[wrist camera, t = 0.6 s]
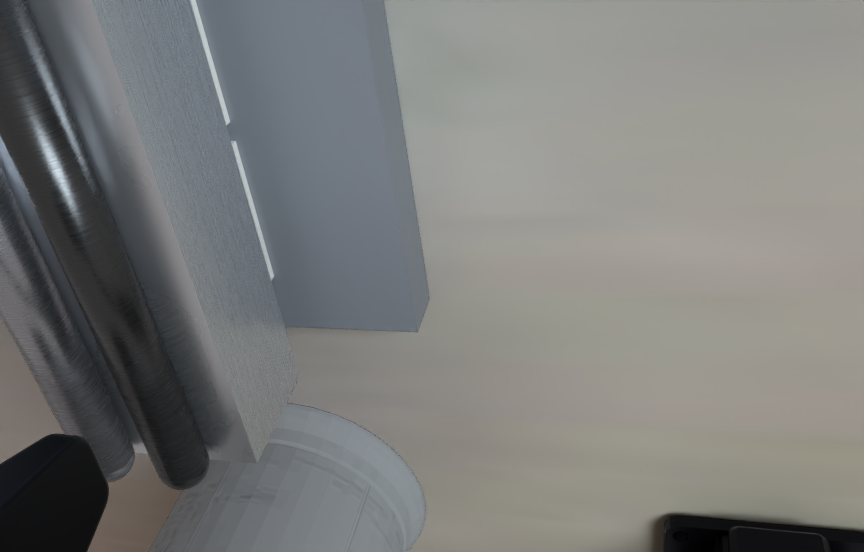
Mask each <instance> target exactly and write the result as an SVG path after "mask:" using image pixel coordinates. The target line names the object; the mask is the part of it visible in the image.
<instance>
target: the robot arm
mask: <svg viewBox="0 0 864 552" xmlns="http://www.w3.org/2000/svg"><path fill="white" fill-rule="evenodd" d="M108 495H109V487H108V482H107V479H106V477H105V475H104V473H103V471H102V468H101V466H100V464H99V462H98V460H97V457H96V455H95V453H94V451H93V448H92V446H91V444H90V443H89V441H88V440H86V439H85V438H84V437H81V436H75V435H66V434H51V435H48V436H46V437H44V438H42V439H40V440H39V441H37V442H35V443H34V444H32V445H30V446H29V447H27V448H25V449H24V450H22V451H21V452H19V453H17V454H16V455H14V456H12V457H11V458H9V459H7V460H6V461H4V462H3V463H1V464H0V552H87V551H88V548H89V546H90V543H91V541H92V539H93V536H94V534H95V531H96V529H97V526H98V524H99V522H100V519H101V517H102V514H103V512H104V509H105V507H106V504H107V500H108ZM663 552H864V533H862V532H851V531H840V530H829V529H818V528H807V527H796V526H785V525H774V524H763V523H752V522H741V521H730V520H719V519H708V518H697V517H686V516H674V517H671V518H669V519H668V520H666V522H665V524H664V539H663Z"/></svg>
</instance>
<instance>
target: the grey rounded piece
mask: <svg viewBox="0 0 864 552" xmlns="http://www.w3.org/2000/svg"><path fill="white" fill-rule="evenodd" d="M209 460H210V465H209V469H208V472H207V475H206V476H205V478H204V479H203V480H202V481H201V482H200V483H199V484H198V485H196V486H194V487H192V488H190V489H185V490H183V491H182V493H181V495H180V497H179V498H178V500H177V502H176V504H175V505H174V507H173V509H172V511H171V512H170V514H169V516H168V518H167V519H166V521H165V523H164V525H163V526H162V528H161V530H160V532H159V534H158V535H157V537H156V539H155V541H154V542H153V544H152V546H151V548H150V549H149V551H148V552H407V551H408V550H409V549H410V547H411V546H412V545H413V544H414V542H415V541H416V540H417V538H418V537H419V535H420V533H421V531H422V528H423V525H424V522H425V514H426V505H425V500H424V496H423V492H422V489H421V487H420V485H419V483H418V481H417V479H416V477H415V475H414V474H413V473H412V471H411V470H410V468H409V467H408V466H407V464H406V463H405V462H404V461H403V460H402V459H401V458H400V457H399V456H398V455H397V454H396V453H395V452H394V451H393V450H392V448H390V447H389V446H388V445H386V444H385V443H384V442H383V441H381V440H380V439H379V438H377V437H376V436H375V435H373V434H372V433H370V432H368V431H366V430H365V429H363V428H361V427H360V426H358V425H356V424H354V423H352V422H350V421H348V420H345V419H343V418H341V417H339V416H336V415H334V414H331V413H328V412H325V411H321V410H318V409H315V408H312V407H306V406H301V405H295V404H290V403H287V404H286V406H285V408H284V410H283V412H282V414H281V416H280V418H279V420H278V422H277V424H276V426H275V428H274V430H273V432H272V434H271V436H270V438H269V440H268V442H267V444H266V446H265V448H264V450H263V452H262V454H261V456H260V458H259V460H258V462H257V463H246V462H234V461H223V460H211V459H209Z"/></svg>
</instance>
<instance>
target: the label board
mask: <svg viewBox="0 0 864 552" xmlns="http://www.w3.org/2000/svg"><path fill="white" fill-rule="evenodd" d="M190 1H191V5H192V8H193V12H194V15H195V18H196V22H197V25H198V29H199V32H200V36H201V39H202V43H203V46H204V50H205V53H206V57H207V60H208V63H209V67H210V70H211V74H212V77H213V81H214V84H215V88H216V91H217V95H218V98H219V102H220V105H221V108H222V112H223V115H224V119H225V122H226V126H227V129H228V133H229V136H230V140H231V143H232V147H233V150H234V153H235V157H236V160H237V164H238V167H239V171H240V174H241V178H242V181H243V185H244V188H245V192H246V195H247V198H248V202H249V205H250V209H251V212H252V216H253V219H254V223H255V226H256V230H257V233H258V237H259V240H260V243H261V247H262V250H263V254H264V257H265V261H266V264H267V268H268V271H269V275H270V278H271V282H272V285H273V288H274V292H275V295H276V299H277V302H278V306H279V309H280V313H281V316H282V320H283V323H284V327H307V328H330V329H354V330H377V331H400V332H418V330H419V327H420V325H421V322H422V319H423V316H424V313H425V310H426V308H427V305H428V302H429V299H430V298H429V291H428V285H427V278H426V272H425V265H424V259H423V252H422V246H421V239H420V233H419V226H418V220H417V214H416V207H415V201H414V194H413V188H412V181H411V175H410V168H409V162H408V155H407V149H406V142H405V136H404V130H403V123H402V117H401V110H400V104H399V97H398V91H397V84H396V78H395V71H394V65H393V58H392V52H391V46H390V39H389V33H388V26H387V20H386V13H385V7H384V0H190Z"/></svg>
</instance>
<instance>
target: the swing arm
mask: <svg viewBox="0 0 864 552" xmlns="http://www.w3.org/2000/svg"><path fill="white" fill-rule="evenodd" d="M0 315H1V317H2V319H3V321H4V322H5V324H6V326H7V328H8V330H9V332H10V334H11V335H12V337H13V339H14V341H15V343H16V345H17V347H18V348H19V350H20V352H21V354H22V356H23V358H24V360H25V361H26V363H27V365H28V367H29V369H30V371H31V373H32V374H33V376H34V378H35V380H36V382H37V384H38V386H39V387H40V389H41V391H42V393H43V395H44V397H45V399H46V400H47V402H48V404H49V406H50V408H51V410H52V412H53V414H54V415H55V417H56V419H57V421H58V423H59V425H60V427H61V428H62V430H63V432H64V434H66V435H75V436H81V437H84V438H85V439H86V440H88V441H89V443H90V444H91V446H92V448H93V451H94V453H95V455H96V457H97V460H98V462H99V464H100V466H101V468H102V471H103V473H104V475H105V477H106V479H107V482H113V481H116V480H119V479H120V478H122V477H124V476H125V475H126V474H127V473H128V472H129V470H130V469H131V467H132V465H133V463H134V459H135V453H142V454H149V457H150V459H151V461H152V463H153V465H154V467H155V470H156V472H157V474H158V476H159V478H160V479H161V481H162V482H163V483H164V484H166V485H167V486H168V487H171V488H173V489H177V490H185V489H190V488H192V487H194V486H196V485H198V484H199V483H200V482H201V481H202V480H203V479H204V478H205V476H206V475H207V472H208V469H209V465H210V460H209V459H211V460H223V461H234V462H246V463H257V462H258V460H259V458H260V456H261V454H262V452H263V450H264V448H265V446H266V444H267V442H268V440H269V438H270V436H271V434H272V432H273V430H274V428H275V426H276V424H277V422H278V420H279V418H280V416H281V414H282V412H283V410H284V408H285V406H286V404H287V402H288V400H289V398H290V396H291V394H292V392H293V390H294V388H295V386H296V384H297V382H298V379H299V375H298V372H297V368H296V365H295V361H294V358H293V354H292V351H291V347H290V344H289V340H288V337H287V333H286V330H285V327H284V323H283V320H282V316H281V313H280V309H279V306H278V302H277V299H276V295H275V292H274V288H273V285H272V282H271V278H270V275H269V271H268V268H267V264H266V261H265V257H264V254H263V250H262V247H261V243H260V240H259V237H258V233H257V230H256V226H255V223H254V219H253V216H252V212H251V209H250V205H249V202H248V198H247V195H246V192H245V188H244V185H243V181H242V178H241V174H240V171H239V167H238V164H237V160H236V157H235V153H234V150H233V147H232V143H231V140H230V136H229V133H228V129H227V126H226V122H225V119H224V115H223V112H222V108H221V105H220V102H219V98H218V95H217V91H216V88H215V84H214V81H213V77H212V74H211V70H210V67H209V63H208V60H207V57H206V53H205V50H204V46H203V43H202V39H201V36H200V32H199V29H198V25H197V22H196V18H195V15H194V12H193V8H192V5H191V1H190V0H0Z"/></svg>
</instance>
